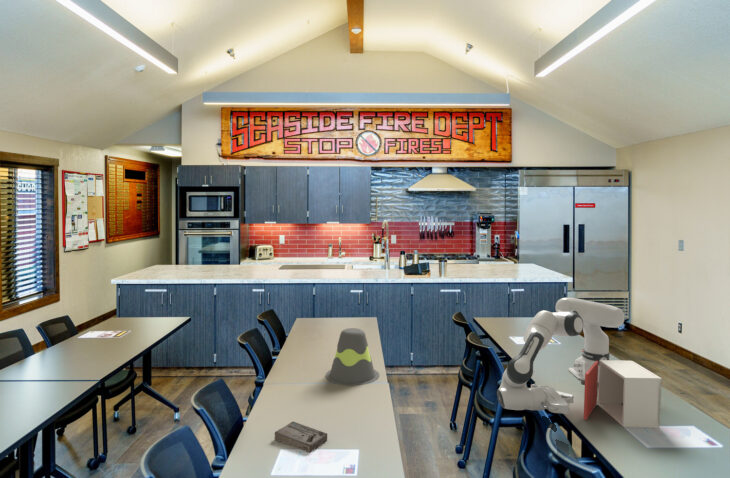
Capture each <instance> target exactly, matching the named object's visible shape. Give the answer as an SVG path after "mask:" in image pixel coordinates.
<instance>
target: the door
mask: <svg viewBox="0 0 730 478" xmlns="http://www.w3.org/2000/svg"><path fill="white" fill-rule="evenodd" d="M580 384H581V385H583V386H584V395H583V398H584V399H583V400H584V402H583V420H585V421H587V420H588V418H589V416H590V414H592V412H593V410H594V408H595V407H596V406H597V404H598V390H599V383H598V361H595V363H594V364H593V365H592V366H591V367H590V368H589V370H588V371H587V372H586V373H585V380H581V381H580Z"/></svg>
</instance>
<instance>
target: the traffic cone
mask: <svg viewBox="0 0 730 478" xmlns="http://www.w3.org/2000/svg"><path fill="white" fill-rule="evenodd" d="M336 347H337V348H336V351H335V355H334V359H333V361H332V364H331V367H330V368H331V369H330V370H328V371H327V372H326V373H325V378H326V379H327V381H329V382H330V383H333V384H336V385H341V386H362V385H368V384H371V383H373V382H375V381H377V380H378V379H379V378H380V373H379V371H377V370H375V368H374V364H373V360H372V357H371V354H370V350H369V343H368V340H367V336H366V333H365V331H364V330H363V329H361V328H357V327H356V328H355V327H352V328H344V329H343V330H342V331H341V332H340V334H339V338H338V342H337V345H336Z"/></svg>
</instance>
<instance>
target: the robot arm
mask: <svg viewBox="0 0 730 478" xmlns="http://www.w3.org/2000/svg"><path fill="white" fill-rule="evenodd" d="M625 318H626V317H625V312H624V311H623V310H622V309H621V308H619V307H616V306H614V305H611V304H606V303H601V302H596V301H592V300H586V299H581V298H576V297H561V298H560V299H558V300H557V301H556V303H555V312H554V311H553V312H551V311H549V310H540V311H538V312H537V313H536V314H535V315H534V316H533V317H532V319H531V320H530V321H529V324H528V325H527V327H526V329H525V331H524V335H523V341H524V344H523V347H522V348H521V349H520V352H519V353H518V355H516V356H515V357H512V359H511V360H509V361H508V364H507V365H506V366H507V367H506V368H505V369H504V372H503V373H502V377H501V383H500V386H499V388H498V389H497V391H496V397H497V401H498V404H499V405H500V406H501V408H503V409H506V410H514V411H524V410H529V411H545V410H548V411H549V412H551V413H553V414H562V415H563V414H564V415H566V414H569V413H570V404H573V403H574V399H573V398H571V397H570V396H565V395H559V394H558V393H557V392H556V391H557V390H556V389H554V387H553V386H550V385H539V384H538V385H537V384H534V383H533V384H532V383H531V384H530V387H528V386H527V382H529V380H530V379H531V378H532V377H533V375H534V362H535V360H536V358H537V356H538V354H539V352H540V351H543V350H545V348H546V347H547V346H548V345H549V343H550V341H551V340H552V337H553V336H554V337H556V336H557V337H577V336H579V335H581V333H582V332H583V334H584V335H583V336H584V349H581V352H582V354H581V356H579V357H577V358H576V359H574V362H573V366H572V367H569V368H568V372H570V373H571V374H572V375H573V376H574V377H576V378H577V380H581V381H582V380H584V381H585V373H586V372H587V371H588V370H589V368H590V367H591V366H592V365H593V364H594V363H595V361H598V384H599V364H600V360H610V352H609V349H610V348H609V346H610V339H609V336H608V335H607V333H605V332H604V331H603V330H602V327H605V328H614V329H615V328H616V329H617V328H620V327H621V326H623V324H624V322H625ZM541 407H542V408H541Z"/></svg>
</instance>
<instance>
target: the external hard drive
mask: <svg viewBox="0 0 730 478" xmlns="http://www.w3.org/2000/svg"><path fill="white" fill-rule="evenodd" d="M555 391H556V392H557V393H558V394H559V395H565V396H570V397H571V398H572V399H573V398H574V394H571V393H568V392H563V391H558V390H555Z"/></svg>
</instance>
